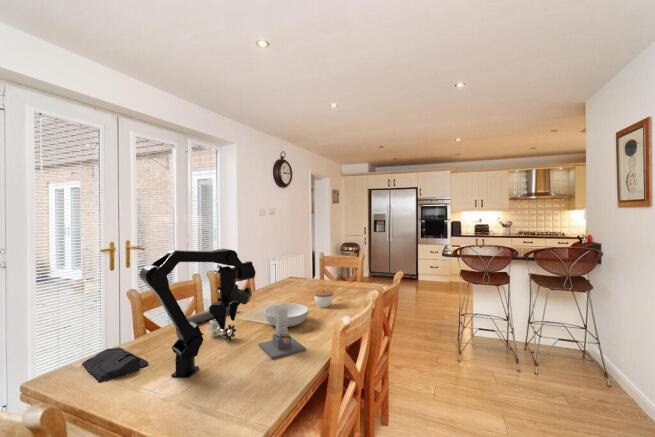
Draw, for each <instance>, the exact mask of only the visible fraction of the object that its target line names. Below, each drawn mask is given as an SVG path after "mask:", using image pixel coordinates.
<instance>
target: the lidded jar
mask: <svg viewBox="0 0 655 437" xmlns="http://www.w3.org/2000/svg"><path fill="white" fill-rule="evenodd" d="M313 293H314V294H313V295H314V296H313V297H314V303H315V304H316V306H317V307H319V308H320V309H321V308H325V309H326V308H329V306H330V305H331V304H332V302H333V296H334V292H333V291H331V290H326V289H322V290H316V291H314V292H313Z"/></svg>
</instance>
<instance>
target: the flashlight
mask: <svg viewBox="0 0 655 437" xmlns="http://www.w3.org/2000/svg"><path fill="white" fill-rule="evenodd" d="M227 315H229V313H228V314H227ZM186 318H187V320H188V322H189V323H190V322H191V321H192V322H194V323H195V324H200V323H202V322H205V321H208V320H210V319H211V320H212V319H215V318H214V316H213V315H212V314H211V313H209V310H207V311H204V312H201V313H197V314H193V315H191V316H188V317H187V316H186Z"/></svg>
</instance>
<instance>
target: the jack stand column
mask: <svg viewBox="0 0 655 437" xmlns="http://www.w3.org/2000/svg"><path fill="white" fill-rule="evenodd" d="M275 334H276V337H278V338H283V337H287V336H288V334H289V333H288V324H287V308H285V307H278V308H276V326H275Z"/></svg>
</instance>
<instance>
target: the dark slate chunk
mask: <svg viewBox="0 0 655 437" xmlns="http://www.w3.org/2000/svg"><path fill="white" fill-rule="evenodd" d="M81 364H82V365H83V366H84V367H85V369H86V370H87V372H88V373H90V374H89V376H91V375H92V376H93V377H94V378H95V379H96V380H97V381H98V382H99V383H103V381H105V383H107V382H110V381H112V379H113V380H115V379H117V378H122V377H124V376H127V374H128V375H130V374H132V373H133V374H134V373H136V372H137V371H138V370H141V369H143V368H144V367H146V366H149V361H147V360H146V359H144V358H143V357H140V356H137V355H135V354H134V353H132V352H130V351H127V350H125V349H124V348H121V347H119V346H118V347H113V348H106V349H104V350H101V351H100V352H99V353H96V354H95V355H94V356H92V357H89V358H88V359H86V360H85V361H83V362H82V363H81ZM85 369H84V370H85ZM86 370H85V371H86ZM88 373H87V374H88ZM92 376H91V377H92ZM121 376H122V377H121ZM93 377H92V378H93ZM94 378H93V379H94ZM95 379H94V380H95ZM96 380H95V381H96ZM109 380H110V381H109ZM97 381H96V382H97ZM98 382H97V383H98Z"/></svg>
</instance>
